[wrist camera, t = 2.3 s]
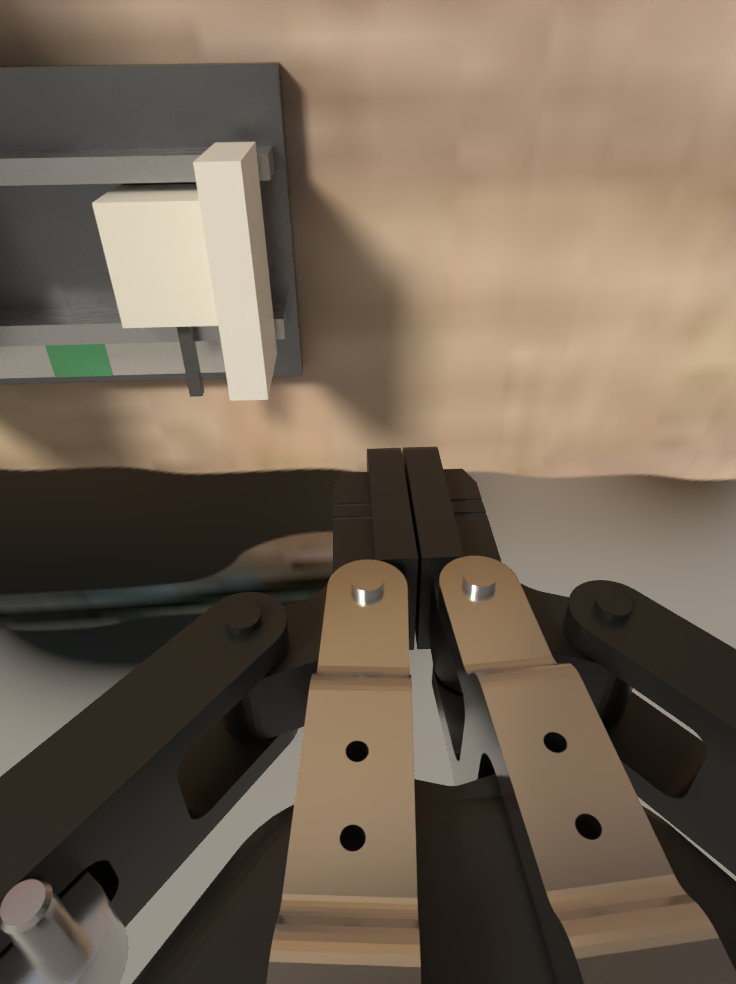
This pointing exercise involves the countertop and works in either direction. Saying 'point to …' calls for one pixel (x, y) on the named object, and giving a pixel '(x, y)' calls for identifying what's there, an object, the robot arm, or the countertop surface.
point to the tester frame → (95, 171)
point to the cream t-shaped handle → (197, 264)
